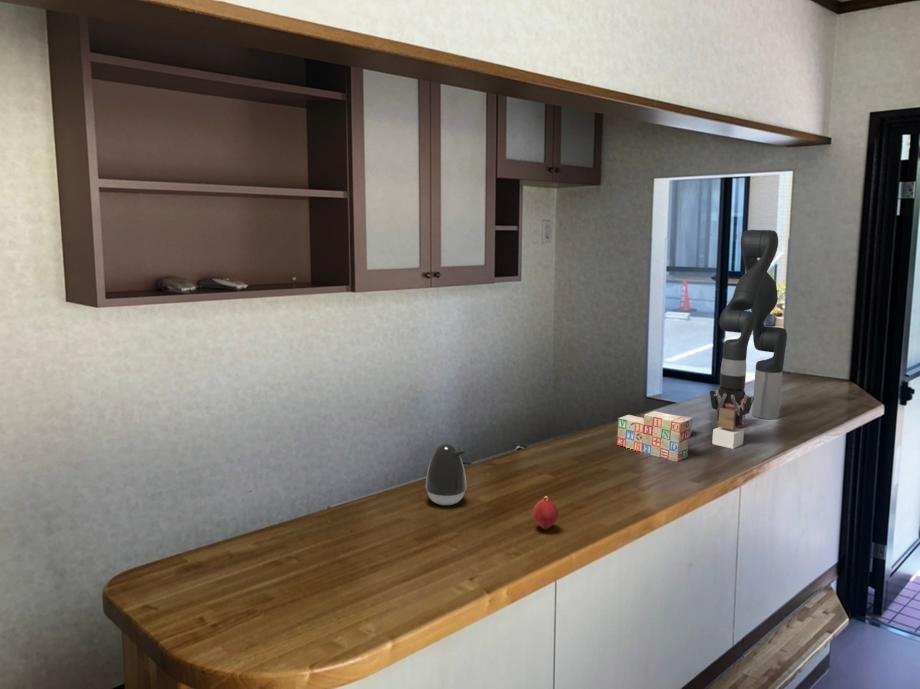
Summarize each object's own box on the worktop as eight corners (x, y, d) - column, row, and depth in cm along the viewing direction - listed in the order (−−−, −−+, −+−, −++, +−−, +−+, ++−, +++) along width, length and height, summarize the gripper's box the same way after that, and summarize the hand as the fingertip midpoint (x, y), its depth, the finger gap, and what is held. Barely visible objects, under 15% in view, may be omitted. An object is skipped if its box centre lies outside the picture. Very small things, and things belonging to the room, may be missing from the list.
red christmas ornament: (530, 524, 177) (531, 491, 176) (554, 523, 178) (555, 491, 176) (534, 534, 172) (535, 500, 170) (559, 533, 172) (561, 500, 171)
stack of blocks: (616, 446, 239) (618, 408, 237) (626, 442, 244) (629, 405, 242) (677, 462, 225) (680, 422, 223) (688, 457, 229) (690, 418, 227)
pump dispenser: (452, 512, 183) (453, 452, 181) (417, 503, 189) (418, 445, 186) (474, 500, 192) (475, 442, 189) (440, 491, 197) (440, 435, 195)
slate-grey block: (675, 432, 256) (677, 415, 255) (691, 434, 253) (692, 417, 252) (672, 436, 251) (673, 418, 250) (687, 438, 249) (688, 420, 248)
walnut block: (724, 423, 246) (726, 405, 245) (739, 426, 242) (741, 408, 241) (718, 426, 242) (719, 408, 241) (733, 429, 239) (734, 411, 238)
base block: (722, 440, 248) (723, 425, 247) (742, 444, 243) (744, 429, 243) (712, 444, 243) (713, 429, 243) (732, 449, 238) (734, 434, 238)
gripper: (760, 374, 237) (756, 426, 240) (717, 367, 247) (713, 418, 250) (750, 378, 232) (745, 431, 235) (706, 370, 242) (702, 422, 245)
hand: (729, 424), depth 242 cm, fingers closed on walnut block, 5 cm apart
